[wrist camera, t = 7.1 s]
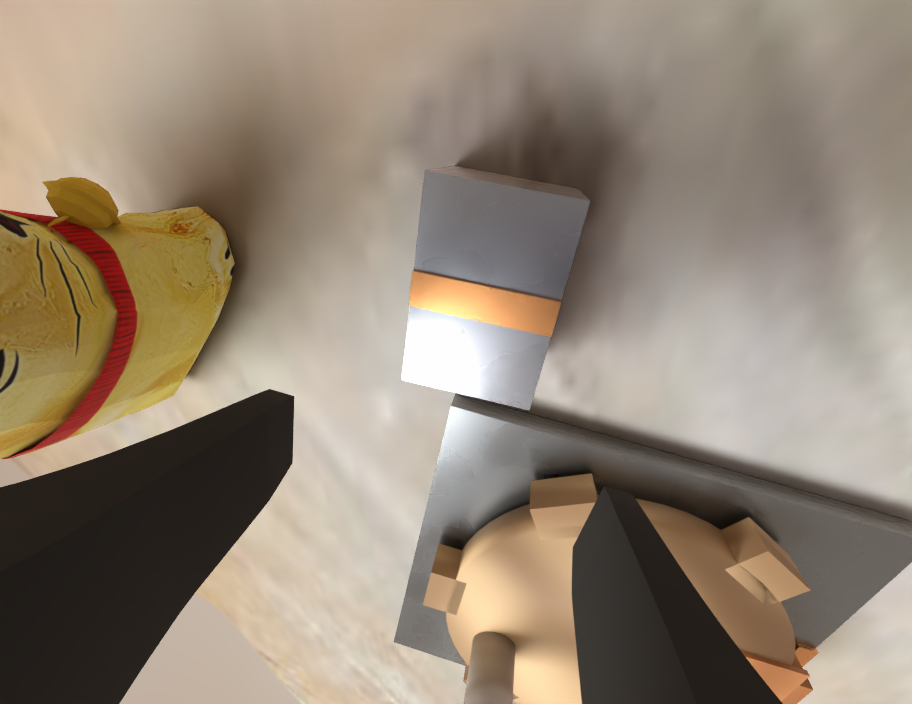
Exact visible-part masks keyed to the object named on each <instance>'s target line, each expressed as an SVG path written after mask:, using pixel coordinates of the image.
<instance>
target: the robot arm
mask: <svg viewBox="0 0 912 704" xmlns="http://www.w3.org/2000/svg"><path fill="white" fill-rule="evenodd" d="M293 420H294V396H291V395H288V394H284V393H281V392H278V391H274V390H271V389H269V390H266V391H264V392H261V393H258V394H256V395H253V396H251V397H248V398H246V399H244V400H241V401H239V402H237V403H234V404H232V405H230V406H227V407H225V408H223V409H220V410H218V411H216V412H213V413H211V414H209V415H206V416H204V417H201V418H199V419H197V420H194V421H192V422H189V423H187V424H185V425H182V426H180V427H177V428H175V429H173V430H170V431H168V432H165V433H162V434H160V435H157V436H154V437H152V438H149V439H147V440H144V441H141V442H139V443H136V444H133V445H131V446H128V447H125V448H123V449H120V450H117V451H115V452H112V453H110V454H107V455H104V456H101V457H98V458H95V459H92V460H89V461H86V462H83V463H80V464H77V465H74V466H71V467H68V468H65V469H62V470H58V471H55V472H52V473H49V474H46V475H42V476H39V477H36V478H33V479H29V480H26V481H23V482H19V483H16V484H12V485H8V486H4V487H0V704H119V703H120V702H121V700H122V698H123V697H124V695H125V694H126V692H127V691H128V689H129V688H130V686H131V684H132V683H133V682H134V680H135V678H136V677H137V675H138V674H139V672H140V671H141V669H142V668H143V666H144V665H145V663H146V662H147V660H148V659H149V657H150V656H151V654H152V653H153V651H154V650H155V648H156V647H157V646H158V644H159V642H160V641H161V640H162V638H163V637H164V635H165V634H166V632H167V631H168V629H169V628H170V626H171V625H172V623H173V622H174V621H175V619H176V618H177V616H178V615H179V613H180V612H181V611H182V609H183V608H184V606H185V605H186V604H187V603H188V601H189V600H190V599H191V597H192V596H193V595H194V593H195V592H196V591H197V589H198V588H199V587H200V586H201V584H202V583H203V582H204V581H205V580H206V578H207V577H208V576H209V575H210V573H211V572H212V571H213V570H214V568H215V567H216V566H217V565H218V564H219V562H220V561H221V560H222V559H223V557H224V556H225V555H226V554H227V552H228V551H229V550H230V549H231V547H232V546H233V545H234V544H235V543H236V541H237V540H238V539H239V538H240V536H241V535H242V534H243V533H244V531H245V530H246V529H247V528H248V526H249V525H250V524H251V523H252V521H253V520H254V519H255V518H256V516H257V515H258V514H259V513H260V511H261V510H262V509H263V508H264V506H265V505H266V504H267V502H268V501H269V500H270V498H271V497H272V495H273V493H274V492H275V490H276V489H277V487H278V486H279V484H280V482H281V481H282V479H283V478H284V476H285V474H286V473H287V471H288V469H289V468H290V466H291V464H292V458H293ZM572 606H573V617H574V628H575V638H576V648H577V659H578V669H579V679H580V689H581V699H582V704H783V703H782V702H781V701H780V699H779V698H778V697H777V696H776V695H775V693H774V692H773V691H772V690H771V689H770V687H769V686H768V685H767V684H766V682H765V681H764V680H763V679H762V677H761V676H760V675H759V674H758V672H757V671H756V670H755V669H754V667H753V666H752V665H751V664H750V662H749V661H748V660H747V658H746V657H745V656H744V654H743V653H742V652H741V650H740V649H739V648H738V646H737V645H736V644H735V642H734V641H733V640H732V638H731V637H730V636H729V634H728V633H727V632H726V630H725V629H724V628H723V626H722V625H721V624H720V622H719V621H718V620H717V618H716V617H715V616H714V614H713V613H712V611H711V610H710V609H709V607H708V606H707V604H706V603H705V602H704V600H703V599H702V597H701V596H700V594H699V593H698V592H697V590H696V589H695V587H694V586H693V584H692V583H691V582H690V580H689V579H688V577H687V576H686V574H685V573H684V571H683V570H682V568H681V567H680V565H679V564H678V562H677V561H676V559H675V558H674V556H673V555H672V553H671V552H670V550H669V549H668V547H667V546H666V544H665V543H664V541H663V540H662V538H661V537H660V535H659V534H658V532H657V531H656V529H655V528H654V526H653V524H652V523H651V521H650V520H649V518H648V517H647V515H646V514H645V512H644V511H643V509H642V508H641V506H640V505H639V503H638V502H637V500H636V499H635V497H634V496H633V495H632V494H631V493H627V492H624V491H620V490H617V489H613V488H610V487H607V486H604V487H603V489H602V491H601V493H600V495H599V497H598V499H597V500H596V502H595V504H594V506H593V508H592V510H591V512H590V514H589V516H588V518H587V520H586V522H585V524H584V526H583V528H582V530H581V532H580V534H579V536H578V538H577V540H576V542H575V544H574V546H573V553H572Z"/></svg>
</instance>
